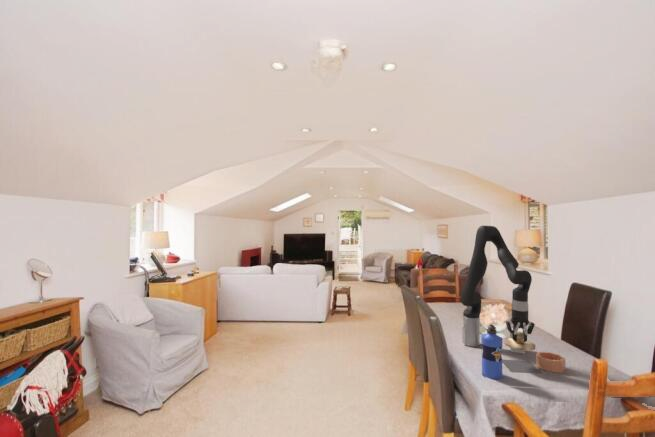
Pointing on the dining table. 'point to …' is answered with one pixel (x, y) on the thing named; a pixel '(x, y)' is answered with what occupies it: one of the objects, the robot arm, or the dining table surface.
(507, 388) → the dining table surface
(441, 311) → the dining table surface
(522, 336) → the lid
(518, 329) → the supplement box
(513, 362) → the mat
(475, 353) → the dining table surface
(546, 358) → the bowl
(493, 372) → the water bottle
